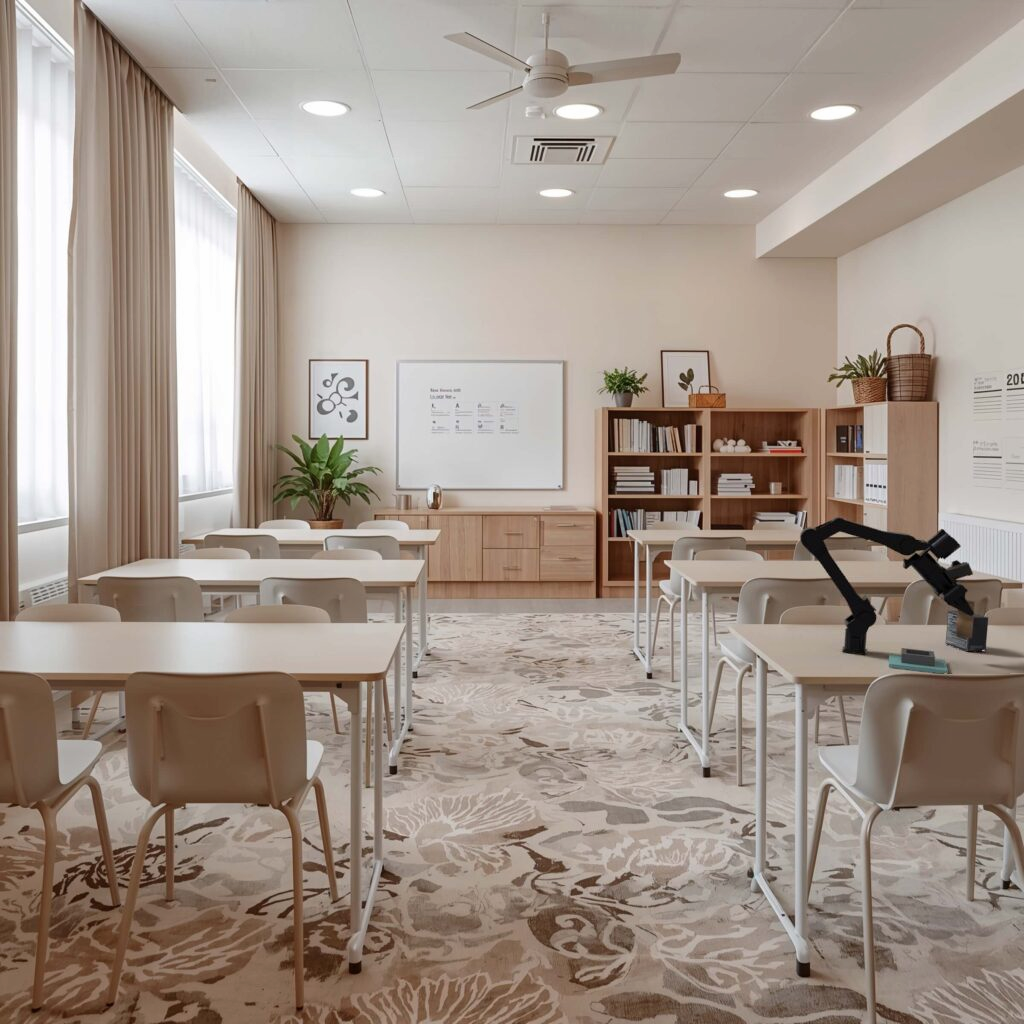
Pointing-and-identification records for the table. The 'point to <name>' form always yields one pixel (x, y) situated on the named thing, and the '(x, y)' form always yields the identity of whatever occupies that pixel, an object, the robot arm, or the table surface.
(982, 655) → the table surface
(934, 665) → the docking socket
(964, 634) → the peg
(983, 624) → the small box
